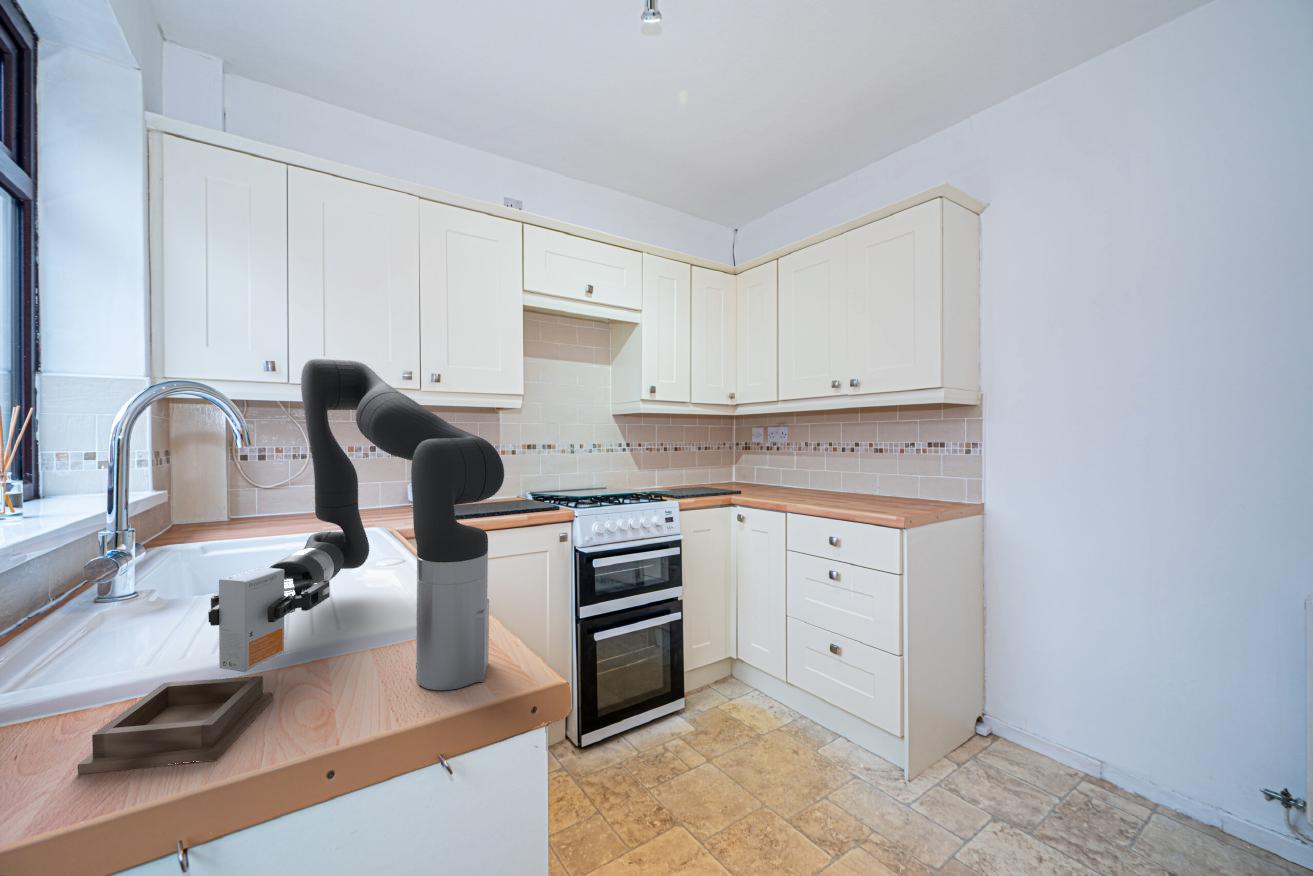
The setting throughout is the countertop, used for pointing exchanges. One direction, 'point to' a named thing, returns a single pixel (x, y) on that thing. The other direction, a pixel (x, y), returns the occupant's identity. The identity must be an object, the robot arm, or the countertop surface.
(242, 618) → the skincare box
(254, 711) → the tray
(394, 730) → the countertop surface
